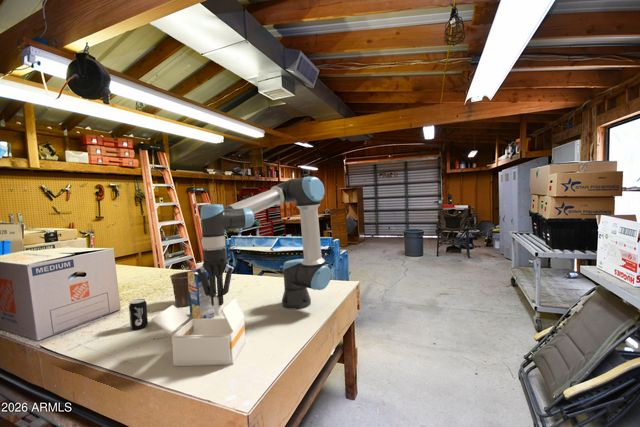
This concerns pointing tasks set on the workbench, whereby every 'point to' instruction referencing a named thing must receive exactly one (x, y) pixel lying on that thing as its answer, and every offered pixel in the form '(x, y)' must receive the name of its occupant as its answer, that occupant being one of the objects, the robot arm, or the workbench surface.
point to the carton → (207, 343)
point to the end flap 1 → (170, 319)
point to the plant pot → (180, 288)
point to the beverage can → (138, 314)
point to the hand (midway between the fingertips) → (218, 314)
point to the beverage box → (199, 297)
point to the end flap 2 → (233, 314)
